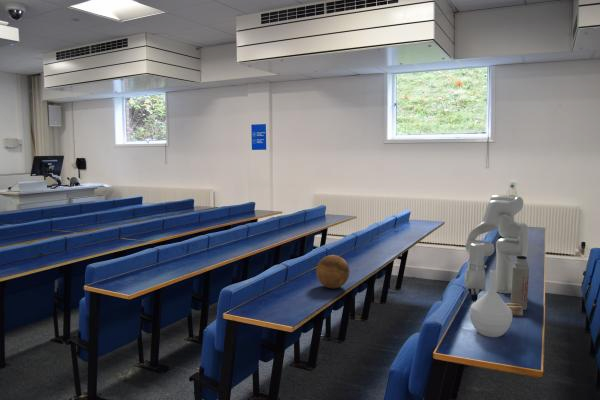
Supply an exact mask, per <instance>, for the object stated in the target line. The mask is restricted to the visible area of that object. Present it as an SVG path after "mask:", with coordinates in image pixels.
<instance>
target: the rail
mask: <svg viewBox="0 0 600 400" xmlns="http://www.w3.org/2000/svg"><path fill="white" fill-rule="evenodd" d="M504 303H505V304H506V305H507V306H508V307H509V308H510V309H511V311H512V316H523V315H524V311H523V307H522V306H521V305H520V304H516V303H511V302H504Z"/></svg>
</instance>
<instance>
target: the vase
mask: <svg viewBox="0 0 600 400" xmlns="http://www.w3.org/2000/svg"><path fill="white" fill-rule="evenodd" d="M488 278H489V280H488V290H486V292H485V293H484V294H483V295H482V296H480V298H479V299H477V300H476V302H475V301H474V302H473V303H472V304H470V305H471V306H470V308H469V317H470V321H471V324H472V326H473V327H474V329H475V331H477V332H478V334H480V335H482V336H485V337H487V338H489V337H490V338H499V337H502V336H503V335H504V334H505V333H506V332H507V331H508V330H509V329H510V326H511V324H512V323H513V322H512V321H513V315H512V311H511V309H510V308H509V307H508V306H507V305H506V304H505V303H506V302H505V301H504V300H503V299H502V298H501V296H500V295H499V294H498V292H496V269H490V270H489V277H488Z"/></svg>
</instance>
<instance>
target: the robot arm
mask: <svg viewBox="0 0 600 400" xmlns="http://www.w3.org/2000/svg"><path fill="white" fill-rule="evenodd" d="M489 200H490V201H489V202H488V204H487V206H486V209H485V212H484V215H483V218H482V221H481V223H479V224H478V225H476V226H475V227H474V228H472V229H471V231H470V232H469V234H468V237H467V239H466V242H465V250H466V252H467V253H468V263H467V264H468V265H467V267H468V268H467V267H466V268H465V272H464V273H465V274H464V281H463V284H464V283H465V285H466V290H465V291H468V292H469V293H470V300H471V301H472V302H473V303H475V302H476V301H477V300H478V297H479V296H478V295H479V294H480V293H481V292H485V291H487V289H486V286H487V285H486V283H487V282H486V280H487V279H486V270H485V269H487V265H486V264H485V257H490V256H492V255H493V254H494V252H495V251H496V265H495V271H496V292H497V293H500V294H511V290H512V273H513V266H514V265H515V264H514V263H515V261H514V259H513V256H514V257H517V256H525V257H527V255H528V252H529V227H528V225H527V224H526V223H524V222H519V221H515V216H516V215H517V214H518V213H519V212H521V211H522V209H523V207H524V199H523V198H522V197H521V196H518V195H517V196H516V195H507V194H504V195H503V194H493V195H492V196H491V197H490V199H489ZM497 229H498V234H499V236H501V237H502V238H498V239H497V240H496V242H495V245H494V244H493V243H492V242H490V241H483V240H478V239H477V238H478V237H480V236H481V235H483V234H485V233H489V232H492V231H493V232H494V231H496V230H497ZM465 285H464V286H465ZM474 290H475V291H474Z"/></svg>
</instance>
